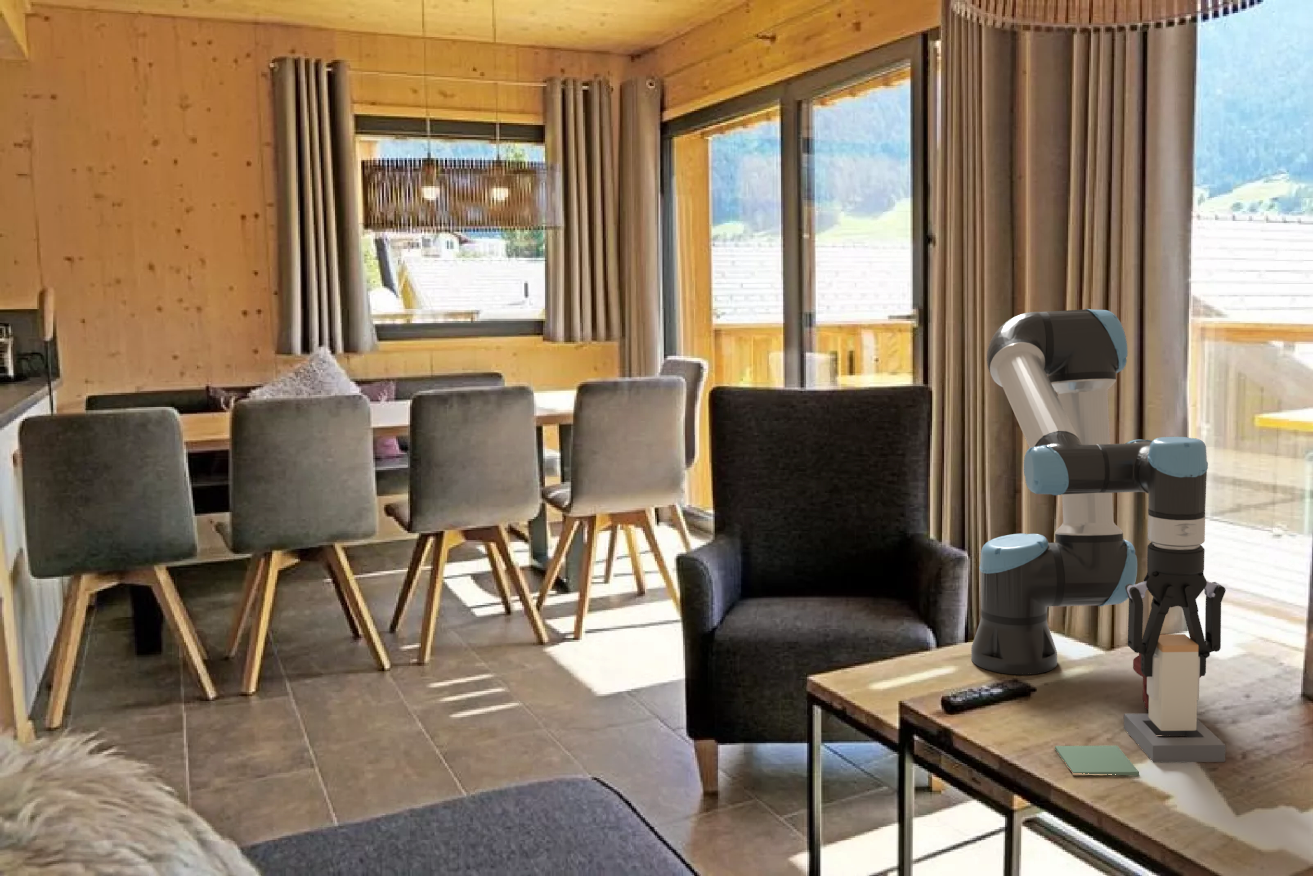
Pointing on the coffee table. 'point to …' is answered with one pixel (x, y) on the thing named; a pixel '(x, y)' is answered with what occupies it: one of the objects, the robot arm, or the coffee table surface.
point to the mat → (1096, 760)
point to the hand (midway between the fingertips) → (1172, 696)
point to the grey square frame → (1174, 741)
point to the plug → (1176, 684)
